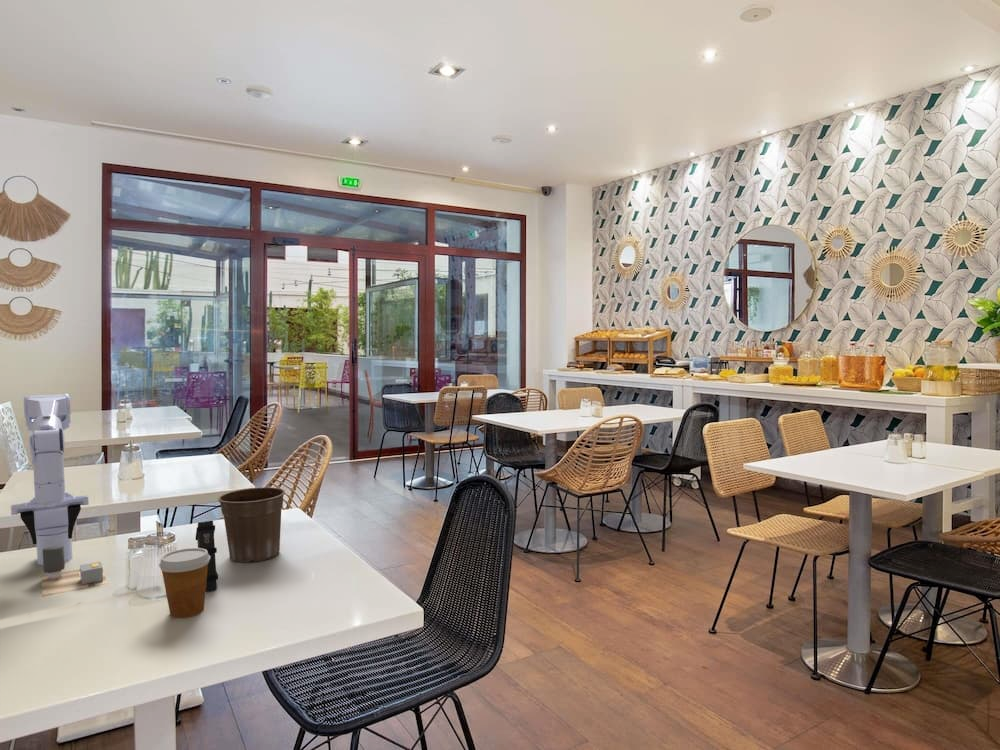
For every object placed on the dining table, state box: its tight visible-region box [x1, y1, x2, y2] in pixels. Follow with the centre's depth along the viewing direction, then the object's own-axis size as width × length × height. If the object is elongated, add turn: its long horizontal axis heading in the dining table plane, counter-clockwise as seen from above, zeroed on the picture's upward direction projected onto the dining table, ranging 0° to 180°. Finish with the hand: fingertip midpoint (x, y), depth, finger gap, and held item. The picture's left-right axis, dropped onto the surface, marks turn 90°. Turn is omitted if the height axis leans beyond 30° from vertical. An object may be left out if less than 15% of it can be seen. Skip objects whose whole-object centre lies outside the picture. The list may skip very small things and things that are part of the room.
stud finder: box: [79, 561, 104, 584], centre depth 148 cm, size 5×4×3 cm
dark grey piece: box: [42, 546, 66, 580], centre depth 150 cm, size 4×4×7 cm
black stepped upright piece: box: [195, 520, 219, 593], centre depth 149 cm, size 4×13×15 cm, turn 28°
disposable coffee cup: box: [158, 547, 210, 619], centre depth 133 cm, size 10×10×12 cm
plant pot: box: [217, 486, 286, 563], centre depth 168 cm, size 16×16×16 cm
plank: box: [40, 567, 108, 597], centre depth 149 cm, size 15×12×2 cm
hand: (52, 540), depth 149 cm, fingers open, 6 cm apart
